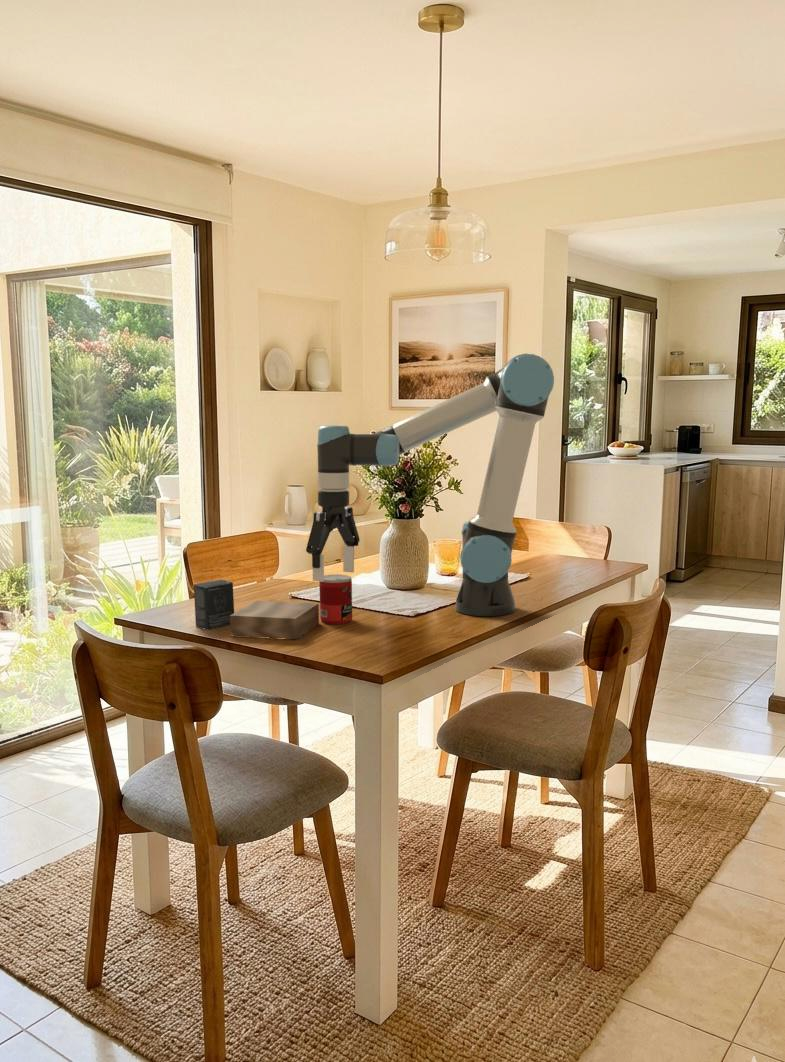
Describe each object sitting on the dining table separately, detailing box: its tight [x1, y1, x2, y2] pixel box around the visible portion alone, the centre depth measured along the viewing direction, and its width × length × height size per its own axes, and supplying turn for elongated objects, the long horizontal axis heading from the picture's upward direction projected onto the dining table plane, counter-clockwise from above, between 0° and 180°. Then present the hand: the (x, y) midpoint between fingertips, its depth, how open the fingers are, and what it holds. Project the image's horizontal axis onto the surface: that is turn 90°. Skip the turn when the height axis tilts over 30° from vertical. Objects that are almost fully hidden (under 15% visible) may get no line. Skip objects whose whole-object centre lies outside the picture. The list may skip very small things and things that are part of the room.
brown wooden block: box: [229, 600, 320, 640], centre depth 216 cm, size 16×16×5 cm
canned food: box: [318, 574, 353, 625], centre depth 224 cm, size 8×8×11 cm
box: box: [193, 579, 235, 630], centre depth 221 cm, size 8×6×11 cm
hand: (333, 576), depth 223 cm, fingers open, 13 cm apart
